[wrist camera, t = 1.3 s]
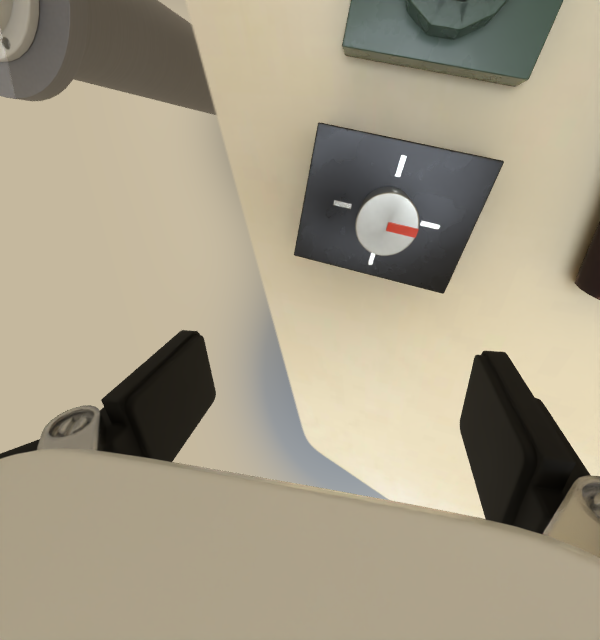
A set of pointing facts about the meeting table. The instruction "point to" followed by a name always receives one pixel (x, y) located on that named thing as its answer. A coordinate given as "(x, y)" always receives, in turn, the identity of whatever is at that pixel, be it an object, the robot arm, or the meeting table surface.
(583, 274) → the diary
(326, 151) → the knob base
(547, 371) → the meeting table surface
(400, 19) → the button base
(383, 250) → the hob knob
